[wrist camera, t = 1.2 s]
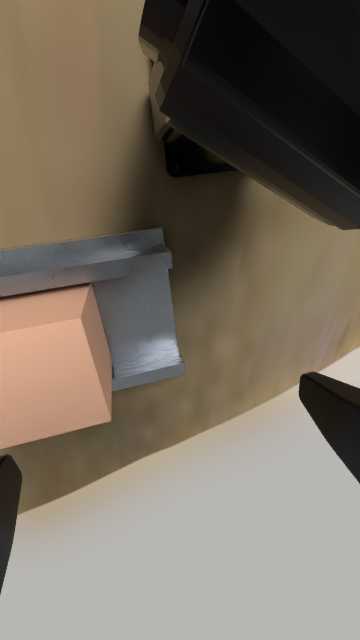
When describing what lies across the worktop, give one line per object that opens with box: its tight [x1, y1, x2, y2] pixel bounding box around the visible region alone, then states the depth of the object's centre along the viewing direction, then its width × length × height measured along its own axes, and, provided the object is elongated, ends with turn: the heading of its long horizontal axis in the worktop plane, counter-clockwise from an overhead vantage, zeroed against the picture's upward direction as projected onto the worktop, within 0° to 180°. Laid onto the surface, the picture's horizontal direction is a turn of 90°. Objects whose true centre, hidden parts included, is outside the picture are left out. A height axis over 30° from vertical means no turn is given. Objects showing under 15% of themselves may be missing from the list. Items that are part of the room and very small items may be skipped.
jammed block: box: [0, 282, 112, 449], centre depth 14 cm, size 8×6×6 cm
